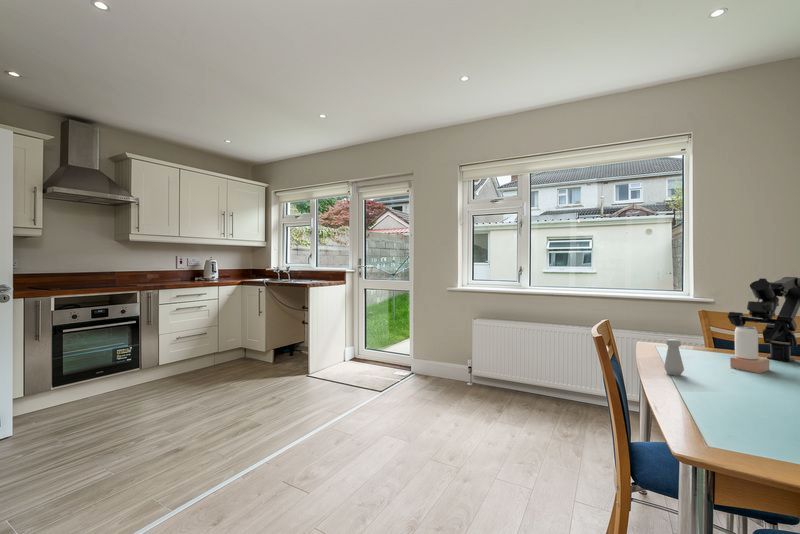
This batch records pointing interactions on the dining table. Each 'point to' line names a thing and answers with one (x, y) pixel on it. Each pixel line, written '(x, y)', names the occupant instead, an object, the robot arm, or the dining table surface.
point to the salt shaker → (673, 358)
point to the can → (746, 342)
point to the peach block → (750, 364)
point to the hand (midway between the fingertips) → (753, 337)
